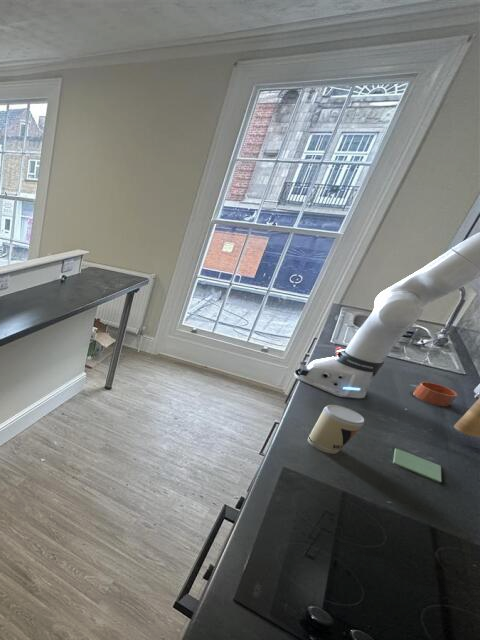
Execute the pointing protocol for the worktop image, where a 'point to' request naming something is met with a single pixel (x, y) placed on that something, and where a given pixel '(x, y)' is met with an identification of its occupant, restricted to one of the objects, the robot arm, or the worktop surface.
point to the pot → (435, 393)
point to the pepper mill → (470, 421)
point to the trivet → (417, 465)
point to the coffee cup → (335, 428)
